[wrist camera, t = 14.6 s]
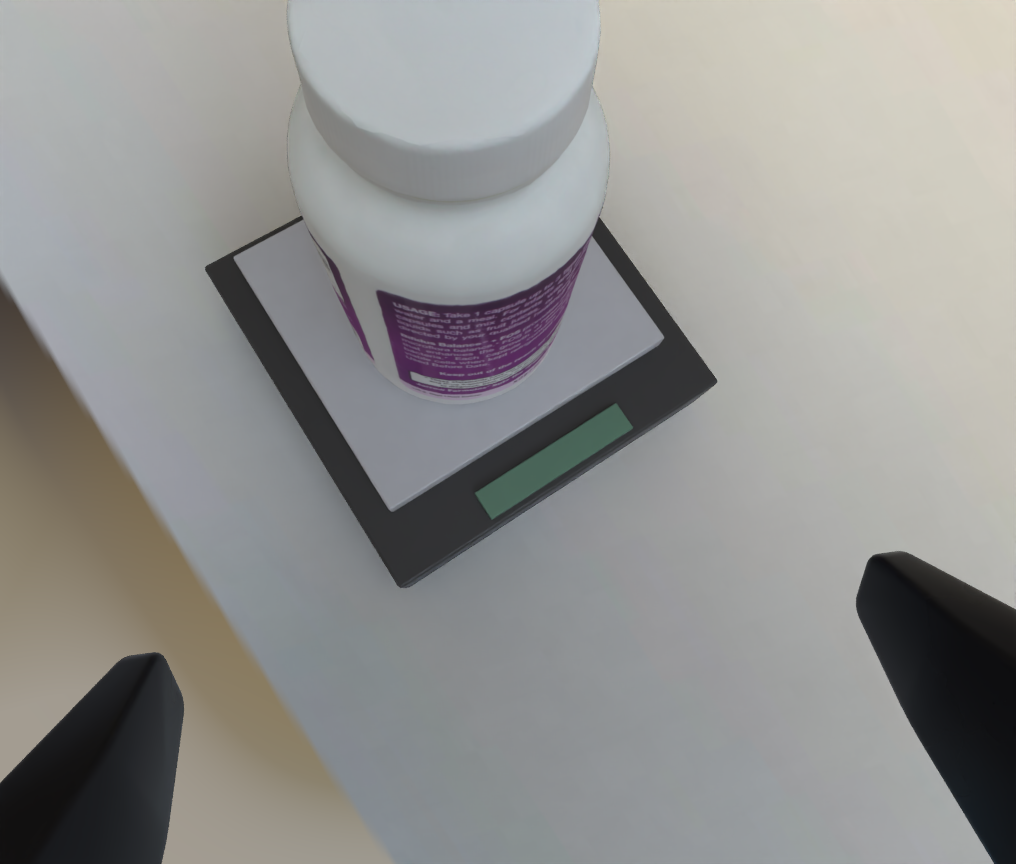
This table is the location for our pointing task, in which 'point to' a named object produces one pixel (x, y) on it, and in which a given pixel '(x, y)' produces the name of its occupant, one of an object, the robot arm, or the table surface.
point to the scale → (466, 427)
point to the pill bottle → (449, 178)
